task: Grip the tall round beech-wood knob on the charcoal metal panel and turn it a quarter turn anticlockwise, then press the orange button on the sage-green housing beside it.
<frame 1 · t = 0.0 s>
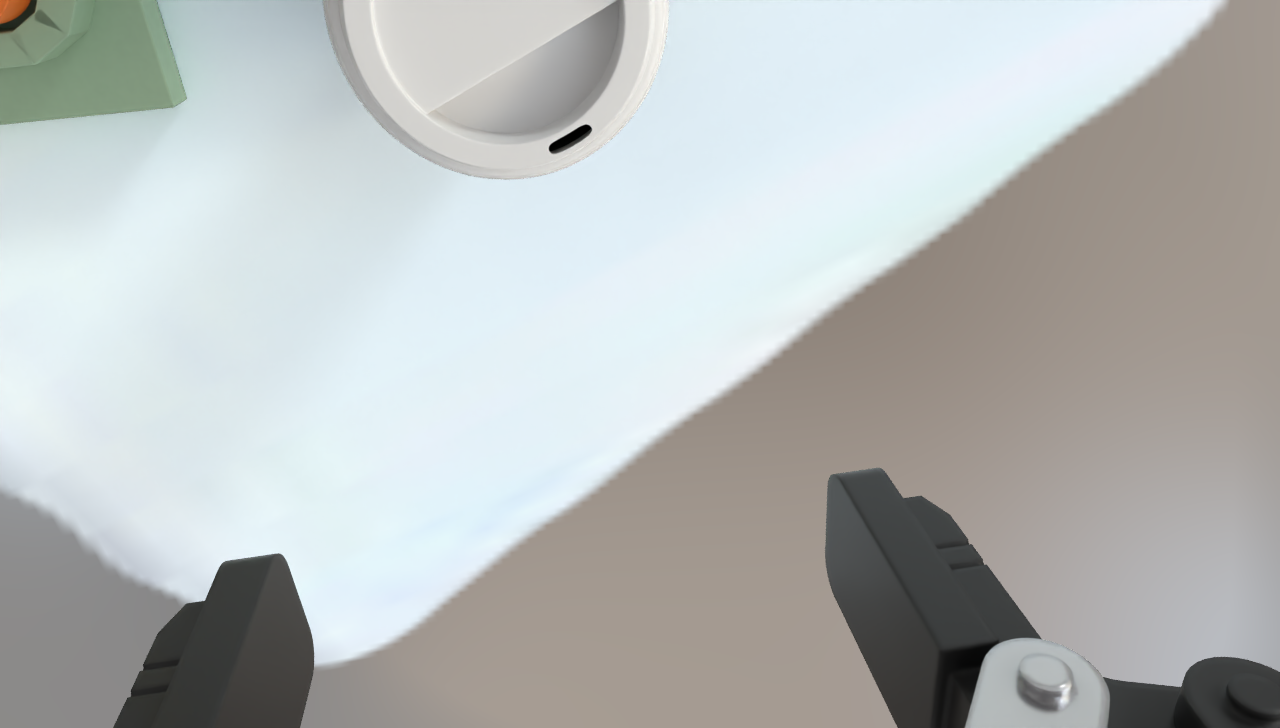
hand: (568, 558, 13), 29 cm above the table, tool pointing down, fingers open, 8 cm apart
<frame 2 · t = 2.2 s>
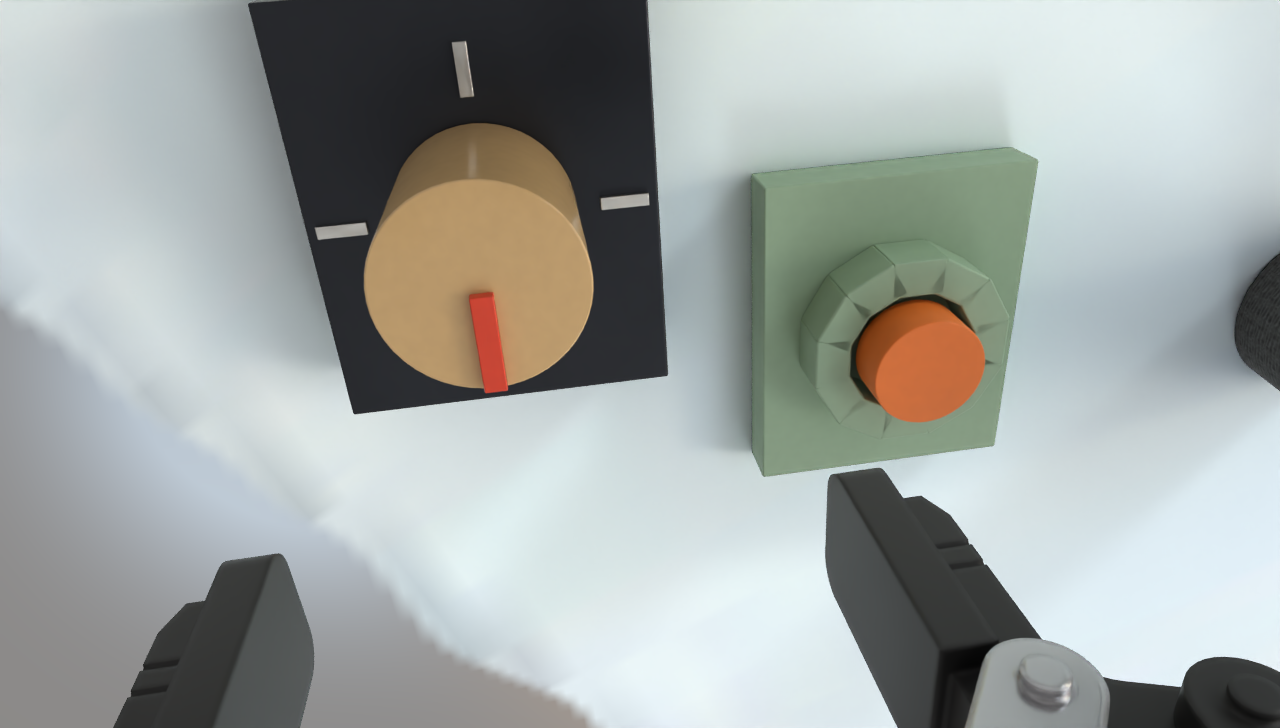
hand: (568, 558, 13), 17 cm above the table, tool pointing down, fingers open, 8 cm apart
button box: (872, 310, 32), on the table
knob: (483, 250, 22), point 6 cm above the table, hinge at 0.0°
panel: (487, 184, 28), on the table
button: (918, 361, 28), point 4 cm above the table, slide at 0.1 cm
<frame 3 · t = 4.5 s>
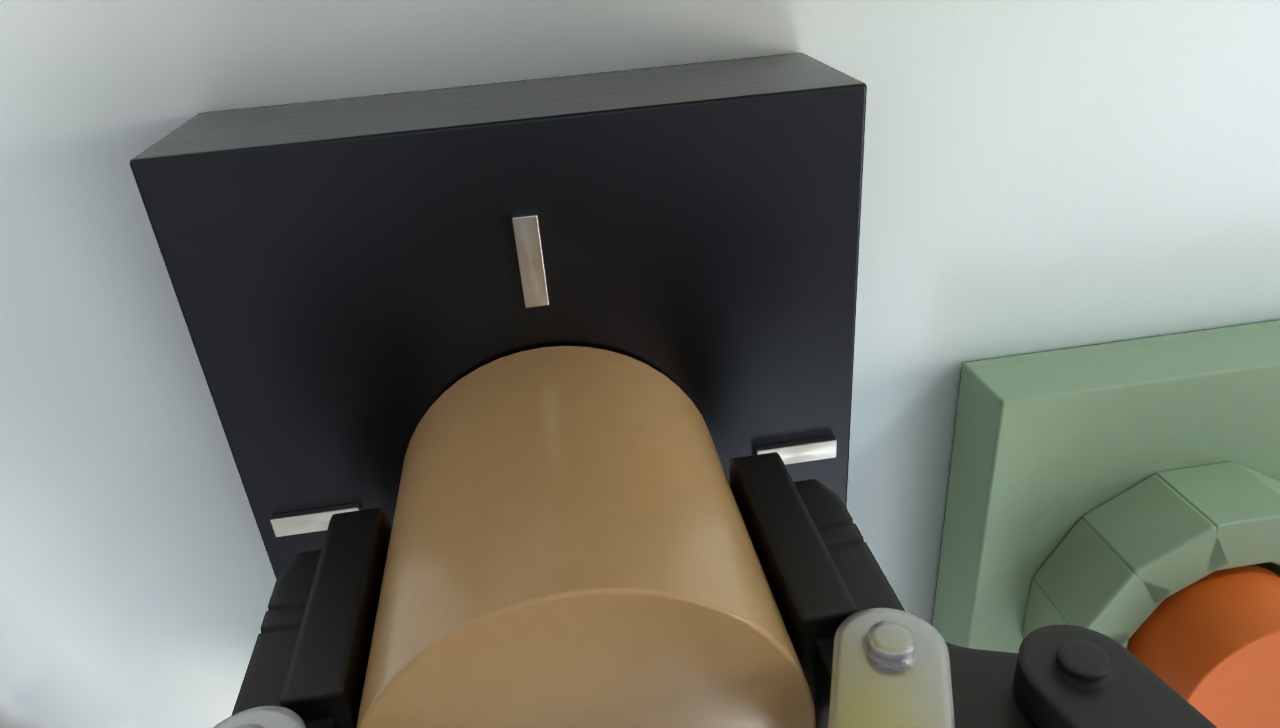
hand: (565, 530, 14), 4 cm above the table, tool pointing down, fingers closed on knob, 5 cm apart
button box: (1115, 536, 21), on the table
knob: (575, 606, 12), point 6 cm above the table, hinge at 0.3°, touching gripper
panel: (553, 394, 17), on the table
button: (1236, 661, 18), point 4 cm above the table, slide at 0.1 cm
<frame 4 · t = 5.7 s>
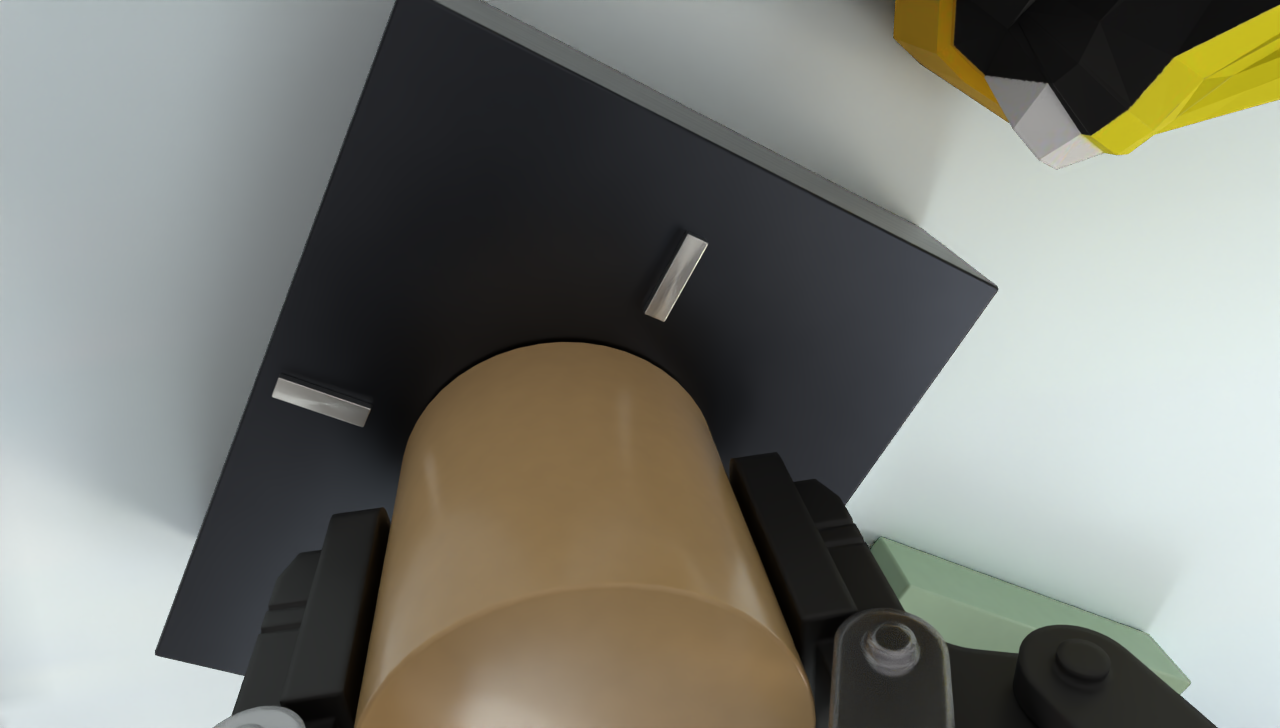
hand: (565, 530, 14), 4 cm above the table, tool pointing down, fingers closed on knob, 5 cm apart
knob: (574, 602, 12), point 6 cm above the table, hinge at 32.9°, touching gripper
panel: (552, 391, 17), on the table
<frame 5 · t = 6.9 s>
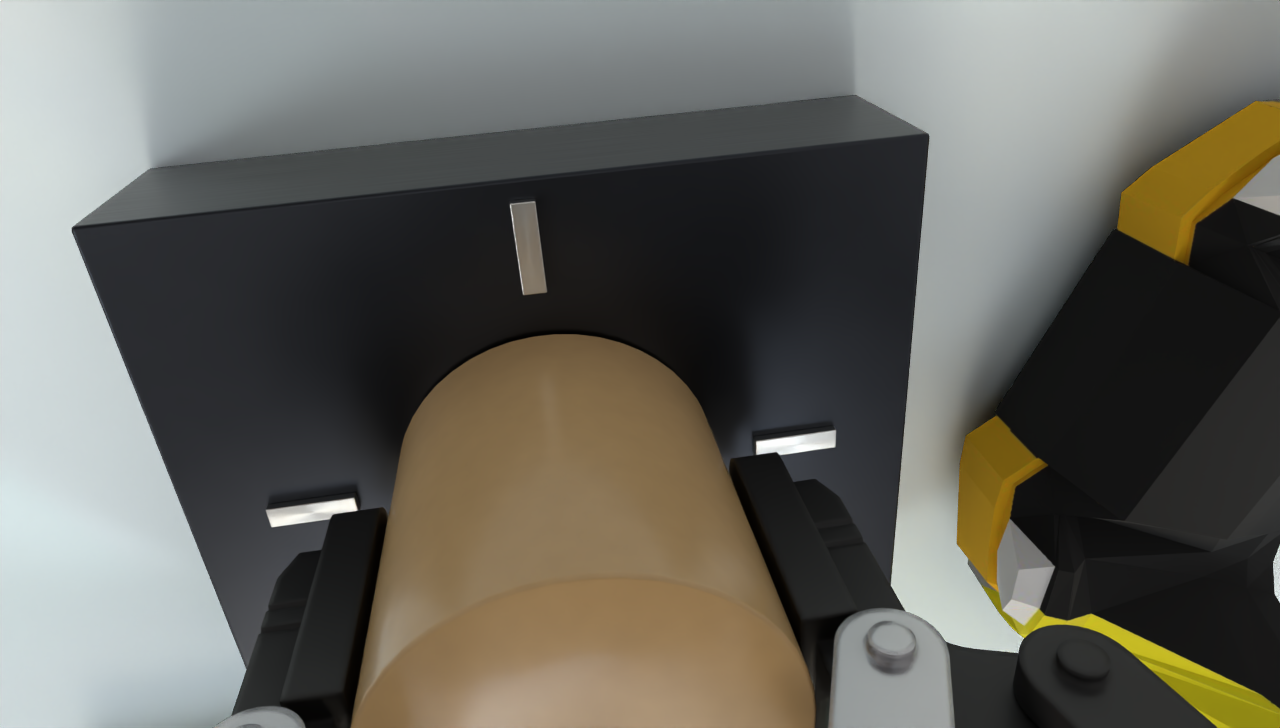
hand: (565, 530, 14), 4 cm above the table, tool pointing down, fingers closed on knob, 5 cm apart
knob: (573, 595, 12), point 6 cm above the table, hinge at 92.6°, touching gripper
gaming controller: (1193, 371, 20), on the table
panel: (550, 385, 17), on the table
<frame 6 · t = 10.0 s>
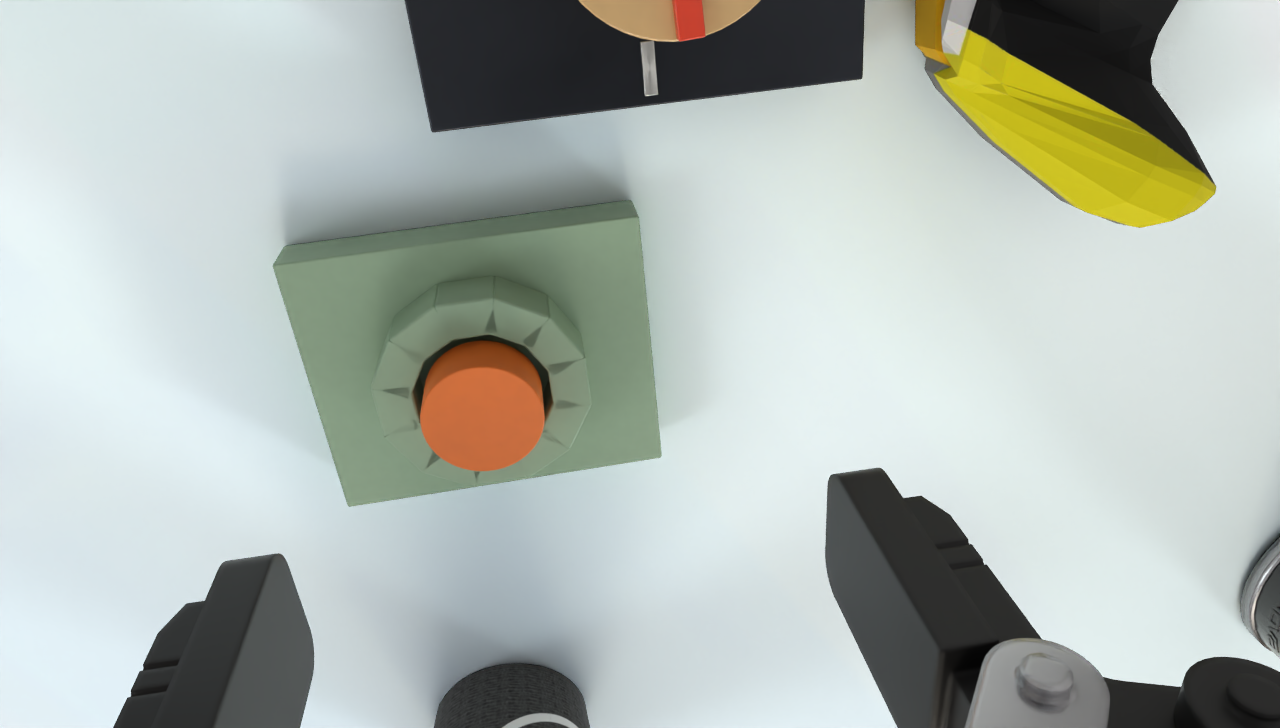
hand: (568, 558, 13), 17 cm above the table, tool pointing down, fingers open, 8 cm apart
coffee cup: (511, 713, 38), on the table
button box: (485, 347, 30), on the table
button: (483, 405, 26), point 4 cm above the table, slide at 0.1 cm
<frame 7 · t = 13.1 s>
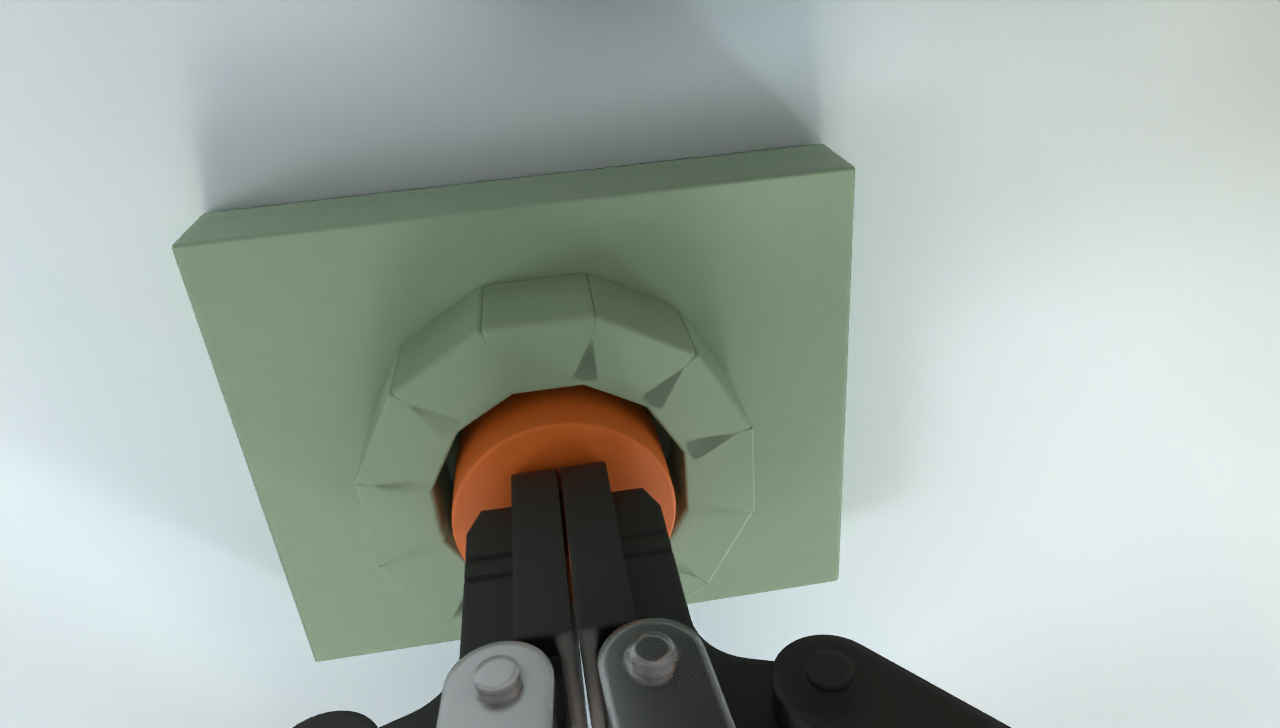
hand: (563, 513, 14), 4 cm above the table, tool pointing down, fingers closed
button box: (553, 395, 18), on the table
button: (562, 488, 15), point 3 cm above the table, slide at -0.7 cm, touching gripper
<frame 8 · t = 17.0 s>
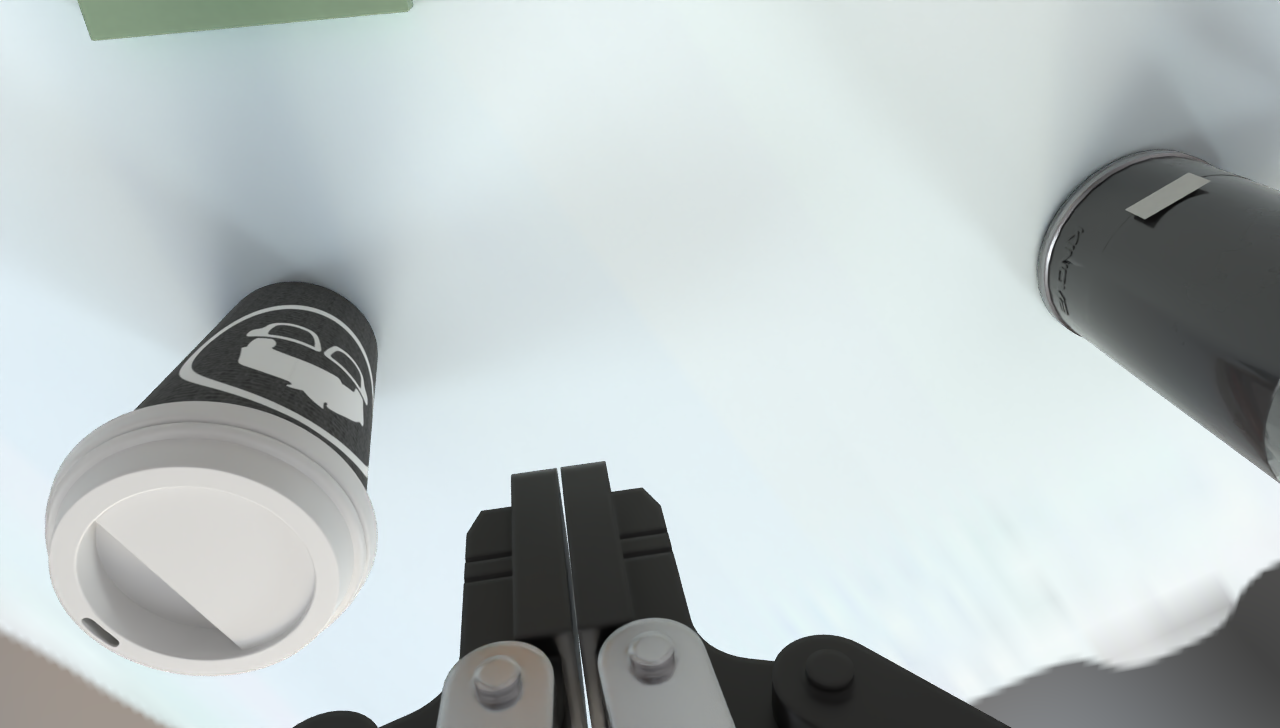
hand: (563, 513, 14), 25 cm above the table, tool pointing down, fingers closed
coffee cup: (302, 347, 39), on the table
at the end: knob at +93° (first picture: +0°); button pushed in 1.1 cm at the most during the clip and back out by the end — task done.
